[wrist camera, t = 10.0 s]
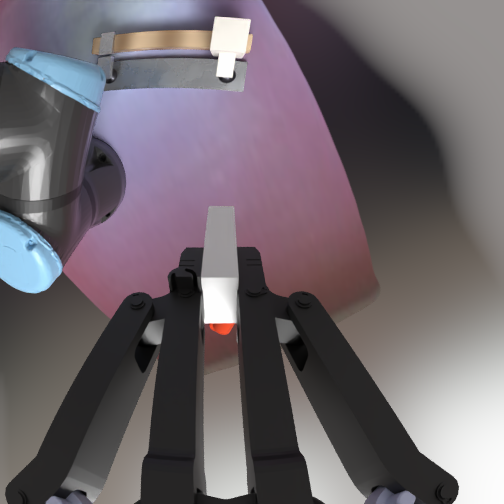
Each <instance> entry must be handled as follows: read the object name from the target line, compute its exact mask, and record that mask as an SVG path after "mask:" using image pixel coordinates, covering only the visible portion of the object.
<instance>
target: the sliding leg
mask: <svg viewBox="0 0 504 504" xmlns="http://www.w3.org/2000/svg"><path fill="white" fill-rule="evenodd" d="M250 22H251V20H249V19H240V18H229V17H215V20H214V26H213V32H212V39H211V45H210V51H211V53H212V55H213V56H219V59H218V66H217V73H216V77H223V78H227V77H229V78H232V77H233V70H234V63H235V58H241V59H242V58H243V56H244V54H245V53H246V47H247V40H248V34H249V28H250Z"/></svg>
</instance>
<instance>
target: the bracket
mask: <svg viewBox="0 0 504 504" xmlns="http://www.w3.org/2000/svg"><path fill="white" fill-rule="evenodd" d="M234 324H235V323H210V328H211V329H212V330H214V331H216V332H217V333H219V334H223V335H225V334H228V333H229V332H230V330H231V329H232V327H233V325H234Z"/></svg>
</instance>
